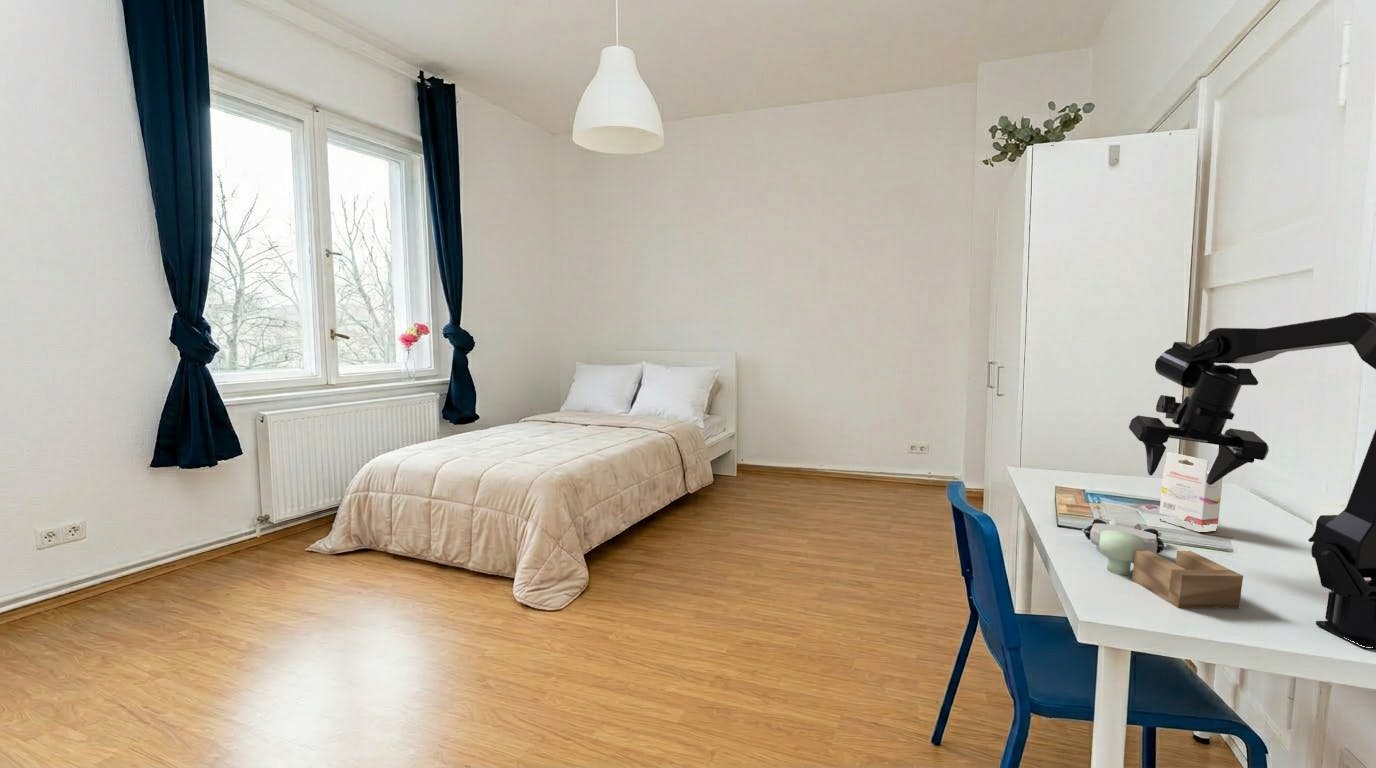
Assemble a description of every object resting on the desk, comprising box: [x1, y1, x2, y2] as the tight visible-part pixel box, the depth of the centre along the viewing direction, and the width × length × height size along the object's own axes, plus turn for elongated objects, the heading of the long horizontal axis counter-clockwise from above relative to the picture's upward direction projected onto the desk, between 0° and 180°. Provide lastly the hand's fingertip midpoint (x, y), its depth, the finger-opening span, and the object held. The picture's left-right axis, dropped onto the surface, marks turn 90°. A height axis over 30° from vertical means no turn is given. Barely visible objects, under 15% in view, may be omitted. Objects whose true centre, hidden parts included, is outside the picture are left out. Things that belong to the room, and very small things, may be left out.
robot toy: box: [1081, 518, 1167, 554], centre depth 116 cm, size 12×4×15 cm
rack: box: [1131, 550, 1244, 609], centre depth 97 cm, size 10×9×5 cm
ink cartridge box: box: [1159, 451, 1224, 525], centre depth 128 cm, size 9×5×15 cm, turn 17°
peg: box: [1098, 530, 1144, 576], centre depth 105 cm, size 6×6×6 cm
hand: (1178, 478), depth 112 cm, fingers open, 9 cm apart
